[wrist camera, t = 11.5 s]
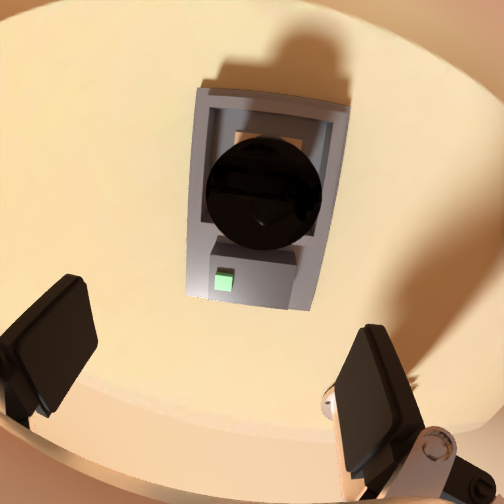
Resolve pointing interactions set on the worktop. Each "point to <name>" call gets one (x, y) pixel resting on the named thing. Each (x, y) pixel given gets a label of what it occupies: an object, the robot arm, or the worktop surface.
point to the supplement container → (264, 193)
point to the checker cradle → (226, 251)
